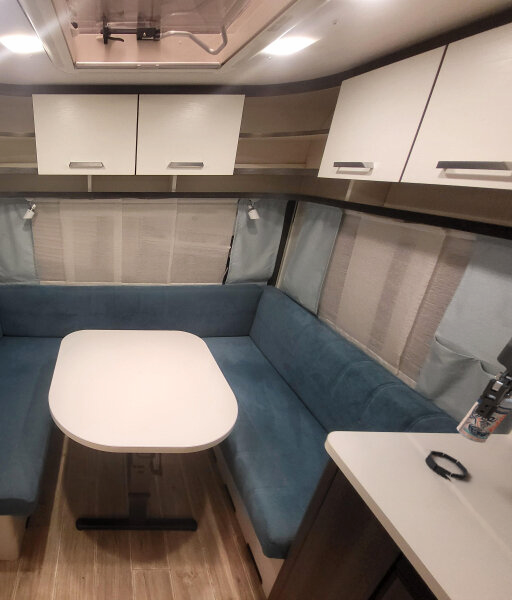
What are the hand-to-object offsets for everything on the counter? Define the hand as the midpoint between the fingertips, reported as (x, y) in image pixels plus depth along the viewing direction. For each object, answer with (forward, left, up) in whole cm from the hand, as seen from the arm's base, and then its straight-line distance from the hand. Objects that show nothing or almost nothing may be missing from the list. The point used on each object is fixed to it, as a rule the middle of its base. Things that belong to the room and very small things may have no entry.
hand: (488, 412), depth 69 cm
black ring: (0, 0, -19) cm, 19 cm away
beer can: (0, 0, -8) cm, 8 cm away
